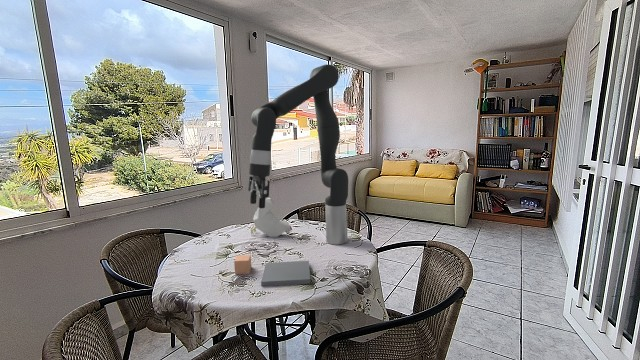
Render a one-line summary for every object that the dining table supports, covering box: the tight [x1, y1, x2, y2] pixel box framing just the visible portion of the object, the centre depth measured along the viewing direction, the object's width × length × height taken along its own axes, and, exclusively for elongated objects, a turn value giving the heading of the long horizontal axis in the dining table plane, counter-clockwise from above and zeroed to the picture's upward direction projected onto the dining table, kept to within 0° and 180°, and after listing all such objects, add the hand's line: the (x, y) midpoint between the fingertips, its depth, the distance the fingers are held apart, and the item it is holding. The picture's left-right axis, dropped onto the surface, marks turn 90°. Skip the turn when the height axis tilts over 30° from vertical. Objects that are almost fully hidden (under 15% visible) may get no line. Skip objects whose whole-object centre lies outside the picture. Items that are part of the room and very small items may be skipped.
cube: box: [233, 254, 253, 275], centre depth 109 cm, size 5×5×5 cm
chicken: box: [250, 197, 293, 238], centre depth 144 cm, size 7×19×20 cm
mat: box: [260, 260, 311, 287], centre depth 105 cm, size 16×14×2 cm
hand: (257, 205), depth 112 cm, fingers open, 8 cm apart
